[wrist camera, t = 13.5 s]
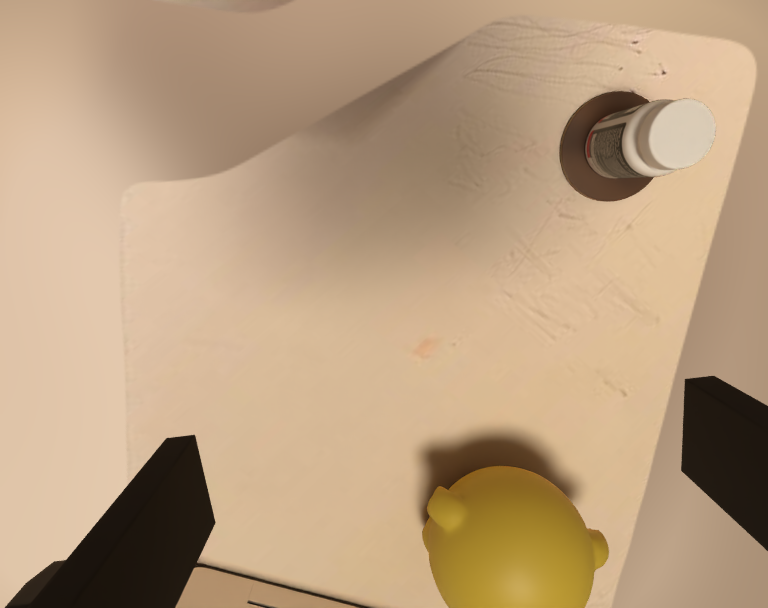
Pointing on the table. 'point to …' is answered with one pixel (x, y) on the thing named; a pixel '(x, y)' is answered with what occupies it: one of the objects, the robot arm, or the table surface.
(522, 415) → the table surface
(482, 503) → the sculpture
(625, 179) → the coaster
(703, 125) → the pill bottle
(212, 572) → the laminator
